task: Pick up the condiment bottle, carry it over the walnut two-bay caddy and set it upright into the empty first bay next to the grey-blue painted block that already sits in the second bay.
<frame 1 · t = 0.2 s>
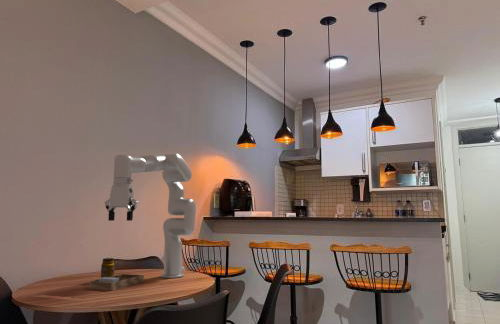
hand: (120, 220, 160), 31 cm above the table, tool pointing down, fingers open, 9 cm apart
caddy: (117, 287, 168), on the table
painted block: (108, 287, 162), point 1 cm above the table, touching caddy
condiment: (105, 283, 177), on the table
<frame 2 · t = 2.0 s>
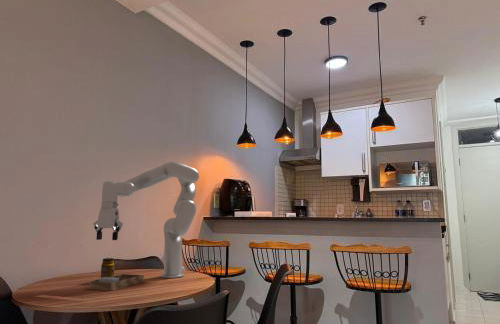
hand: (106, 239, 180), 21 cm above the table, tool pointing down, fingers open, 9 cm apart
nothing on the table moved.
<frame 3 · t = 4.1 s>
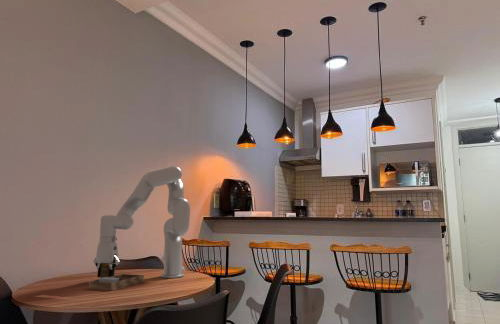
hand: (105, 276, 178), 3 cm above the table, tool pointing down, fingers closed on condiment, 6 cm apart
condiment: (105, 283, 177), on the table, touching gripper
everything else where it was.
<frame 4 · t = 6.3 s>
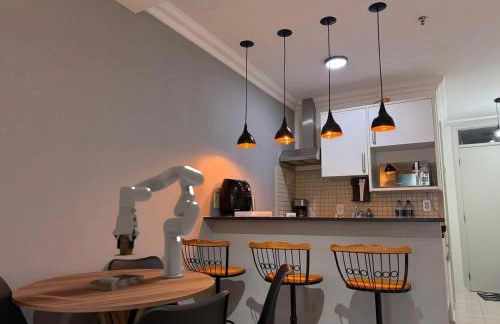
hand: (125, 248, 175), 17 cm above the table, tool pointing down, fingers closed on condiment, 6 cm apart
condiment: (124, 255, 174), point 14 cm above the table, touching gripper
everything else where it was.
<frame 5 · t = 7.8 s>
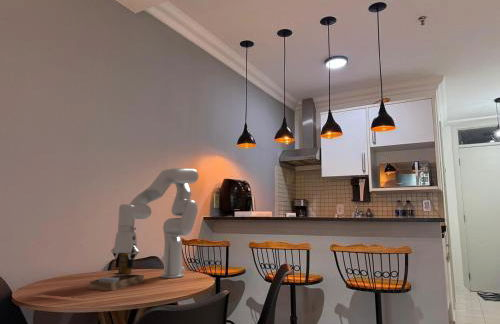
hand: (124, 267, 173), 8 cm above the table, tool pointing down, fingers closed on condiment, 6 cm apart
condiment: (123, 274, 173), point 5 cm above the table, touching gripper
everything else where it was.
when the fingers open (5 cm above the table, at t = 8.9 s): condiment drops 1 cm, resting on caddy.
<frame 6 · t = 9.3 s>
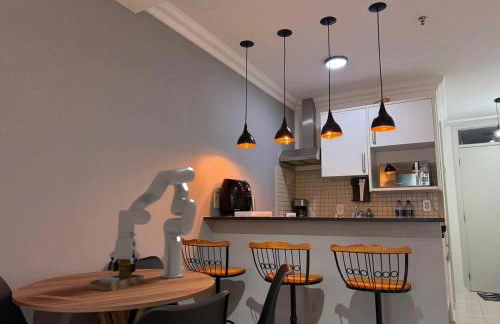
hand: (124, 271, 173), 6 cm above the table, tool pointing down, fingers open, 9 cm apart
condiment: (123, 283, 172), point 1 cm above the table, touching caddy
everything else where it was.
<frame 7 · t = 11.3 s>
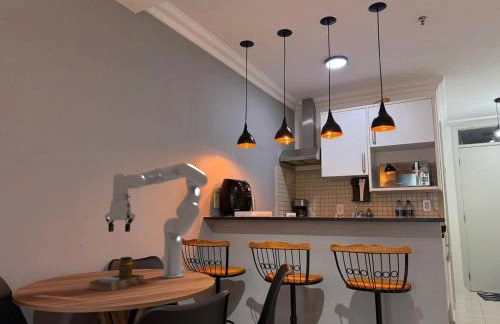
hand: (119, 231, 182), 25 cm above the table, tool pointing down, fingers open, 9 cm apart
nothing on the table moved.
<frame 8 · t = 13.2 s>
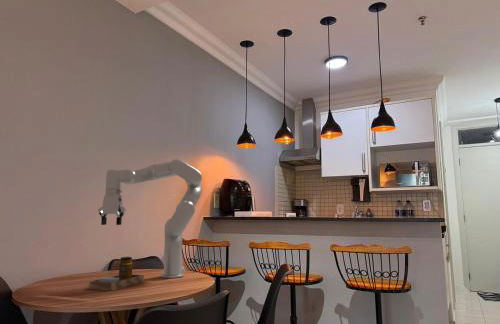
hand: (111, 224, 190), 28 cm above the table, tool pointing down, fingers open, 9 cm apart
nothing on the table moved.
at the end: condiment inside the target area on the caddy (0.2 cm from its centre), point 0.8 cm above the caddy's base; condiment tilted 0°; painted block moved 0.0 cm from its start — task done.
